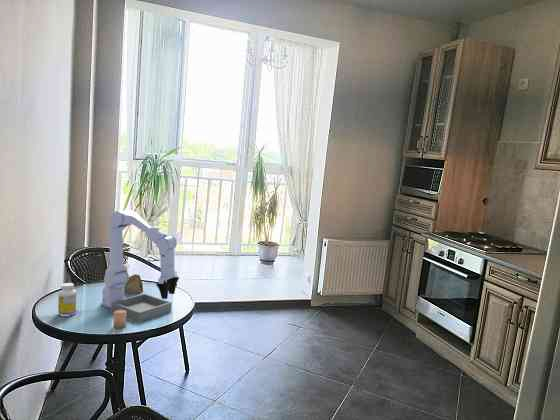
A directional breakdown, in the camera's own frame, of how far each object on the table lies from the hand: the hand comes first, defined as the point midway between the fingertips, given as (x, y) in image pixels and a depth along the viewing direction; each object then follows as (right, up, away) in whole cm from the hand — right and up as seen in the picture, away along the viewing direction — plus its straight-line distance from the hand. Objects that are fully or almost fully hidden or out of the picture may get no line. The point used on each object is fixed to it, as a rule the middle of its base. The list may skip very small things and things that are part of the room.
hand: (168, 296), depth 177 cm
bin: (-14, -8, +7) cm, 18 cm away
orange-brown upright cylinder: (-17, -10, -11) cm, 22 cm away
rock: (-27, -5, +32) cm, 42 cm away
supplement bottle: (-42, -7, -3) cm, 43 cm away
